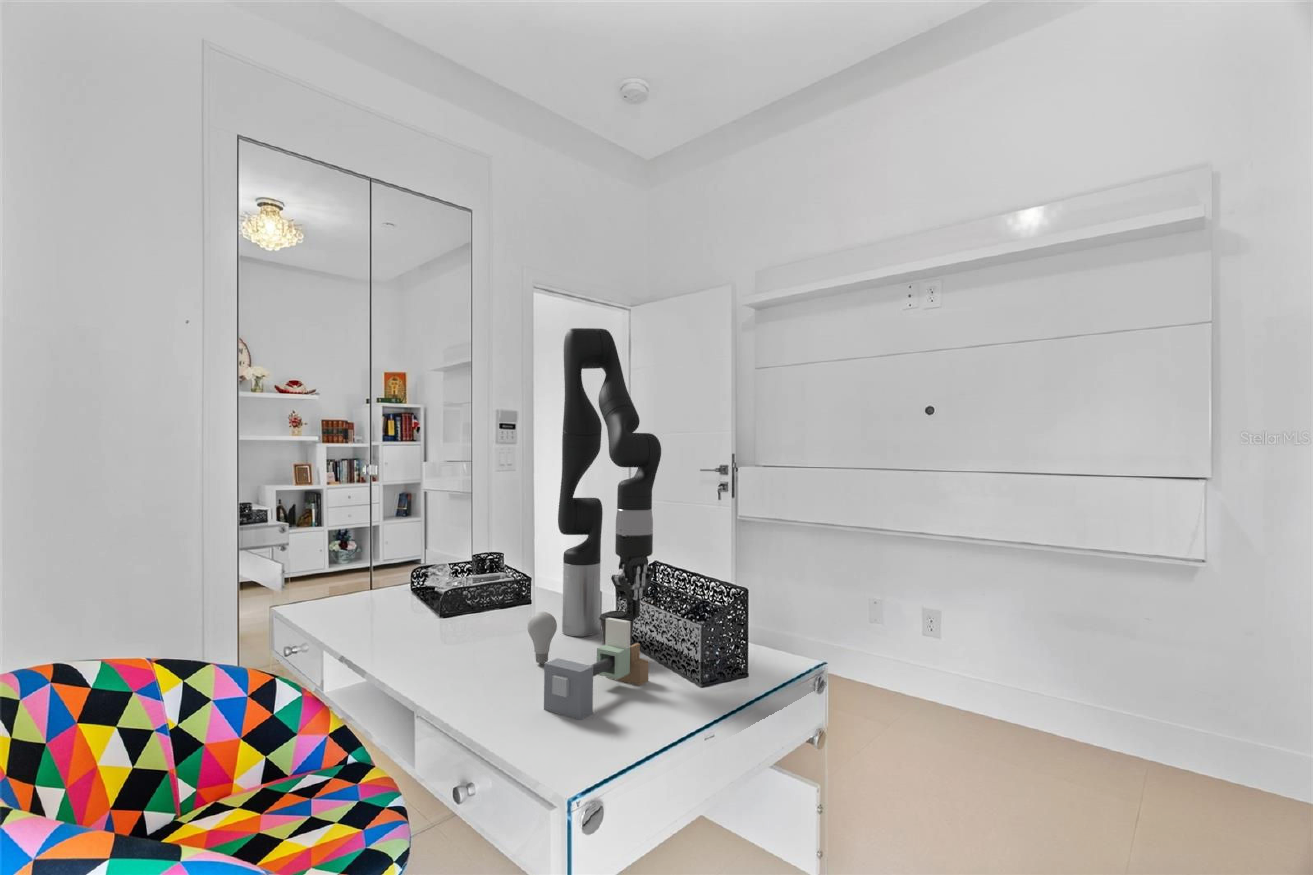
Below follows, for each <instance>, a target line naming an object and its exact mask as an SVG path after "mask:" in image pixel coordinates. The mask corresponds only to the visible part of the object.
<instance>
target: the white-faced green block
mask: <svg viewBox="0 0 1313 875" xmlns="http://www.w3.org/2000/svg"><path fill="white" fill-rule="evenodd" d="M630 622H631V621H626V620H620V619H614V618H607V619H606V635H605V645H601V646H599V647H597V648H596V663H597V662H599V661H601V660H603V659H606V658H608V657H610V656H615V666H614V667H612V668H610V669H608V670H606V671H604V672H602V673H600V674H598V675H597V676H603V677H605V678H606V677H610V678H609V679H611V678H614V679H613V680H615V679H620V678H622V677H624V676H626V675H627V674H629V673H630Z"/></svg>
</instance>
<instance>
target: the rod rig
mask: <svg viewBox="0 0 1313 875" xmlns="http://www.w3.org/2000/svg"><path fill="white" fill-rule="evenodd" d="M640 654H641V643H639V642H636V643H634V644H631V646H630V673H629V674H627V675H626V676H624V677H622V678H620V679H616V680H615V679H614V678H612V679H611V678H610V677H606V676H605V678H608V679H611V680H615V681H620V682H623V681H624V683H628V682H629V684H632V683H633V684H632V685H636V686H641V685H644V684H645V682H646V683H647V682H649V669H650V668H649V665H650V664H649V663H650V661H649V659H648V660H647V659H644V658H643V659H642V658H640V656H641V655H640ZM614 666H615V656H610V657H608V658H606V659H603V660H601V661H599V662H597V661H596V662H595V663H592V664H591V665H590V664H589V665H588V664H585V663H580V662H575V661H572V660H567V659H562V658H559V657H558V658H555V659H552V660H550V661H547V662H546V663H544V669H543V670H544V672H543V673H544V674H543V675H544V677H543V679H544V680H543V684H544V686H543V710H544V711H548V712H552V713H556V714H559V715H563V716H566V717H570V718H573V719H576V720H582V719H584V718H585V717H587V716H590V715H591V714H592V713H593V709H594V707H593V704H594V700H593V699H594V677H596V676H599V675H598V674H600V673H602V672H604V671H606V670H608V669H610V668H612V667H614ZM643 683H644V684H643Z"/></svg>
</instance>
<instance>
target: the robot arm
mask: <svg viewBox="0 0 1313 875" xmlns="http://www.w3.org/2000/svg"><path fill="white" fill-rule="evenodd" d="M585 369H586V370H588V369H589V370H591V369H592V370H593V369H602V370H603V371H604V374H605V377H604V380H603V383H602V385H601V388H600V390H599V393H598V398H597V399H598V400H597V401H598V407H599V411H600V413H601V415H602V418H603V421H604V423H605V426H606V430H607V437H608V438H607V439H608V455H609V458H610V460H611V462H613V464H614V465H615V466H617V467H619V468H636V472H635V474H634V476H633V477H630V478H626V479H624V480H621V481H620V482H618V485H617V496H616V497H617V500H616V501H617V504H616V505H617V506H616V507H617V508H616V517H615V518H616V519H615V546H614V547H615V548H614V549H615V550H614V551H615V555H617V556H619V562H618V563H619V564H618V571H617V572H616V574H612V575H611V576H610V578H611V579H610V580H611V581H612V584H613V586H614V587H615V590H616V592H617V594H618V595H619V598H623V599H625V600H626V611H625V612H626V613H627V617H628V618H631V619H635V620H636V619H638V618H639V617H640V614H641V599H642V598H643V595H646V594H647V592H648V590H649V588H650V584H651V582H652V579H653V577H654V575H655V574H654V573H655V572H656V570H655V569H656V568H655V567H651V566H649V559H648V557H651V556H652V555H653V550H654V549H653V547H654V546H653V545H654V544H653V542H654V541H653V540H654V539H653V537H654V519H653V507H652V506H653V488H654V484H655V480H656V475H657V471H658V468H659V465H660V462H661V458H662V445H661V442H660V440H659V439H658V437H657V436H656V435H655V434H653V433H650V432H648V433H647V432H636V431H637V429H638V428H639V426H640V423H641V422H640V417H639V414H638V411H637V410H636V407H635V405H634V402H633V401H632V398H631V396H630V394H629V391H628V388H627V386H626V385H627V384H626V382H625V378H624V374H623V369H622V365H621V361H620V357H619V353H618V349H617V346H616V343H615V340H614V338H613V335H612V334H611V332H610V331H609V330H607V329H605V328H595V327H594V328H590V327H589V328H585V327H583V328H582V327H581V328H579V327H578V328H577V327H576V328H573V327H572V328H569V329H568V330H567V331H566V334H565V336H564V340H563V375H564V378H563V379H564V405H563V406H564V407H563V421H562V440H561V447H562V448H561V450H562V451H561V480H560V481H561V482H560V493H559V502H558V513H557V526H558V529H559V532H560V533H561V535H566V536H587V537H586V539H585V540H583V542H581V543H579V544H578V545H575V546H572V547H570V548H568V549H566V550H565V551H563V557H562V559H563V562H562V565H563V566H562V568H563V570H562V616H561V620H562V622H561V623H562V624H561V625H562V630H561V632H562V633H563V634H564V635H567V636H571V637H587V636H588V637H589V636H593V635H596V634H598V633H600V630H602V626H601V620H600V619H599V617H600V615H601V614H603V611H602V610H603V609H602V608H603V607H602V606H603V592H602V591H601V566H602V565H601V561H602V560H601V554H602V553H601V552H602V551H601V550H602V549H601V547H602V528H603V516H604V515H603V514H604V513H603V504H602V501H601V500H600V498H598V497H574V495H575V491H576V489H577V488H578V487H577V486H578V485H579V483H580V481H581V479H582V477H583V476H584V474H585V473H586V472H587V471H588V469H590V467H591V465H592V464H593V463H594V461H595V460H596V459H597V457H598V455H599V453H600V451H601V448H602V446H601V445H602V432H603V430H602V429H603V428H602V426H603V425H602V421H601V418H600V415H599V413H598V412H597V410H596V409H595V407H594V405H593V404H592V402H591V401H590V399H589V397H588V394H587V392H586V390H585V388H584V383H583V379H582V378H583V376H582V372H583V371H582V370H585Z"/></svg>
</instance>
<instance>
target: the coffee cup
mask: <svg viewBox="0 0 1313 875" xmlns="http://www.w3.org/2000/svg"><path fill="white" fill-rule="evenodd" d="M607 618H614V619H620V620H626V621H631V622H630V646H631V645H632V638H633V637H632V636H633V629H634V622H635V620H636V619H631V618H628V617H627V613H626V611H624V610H610V611H608V612H607V611H606V612H602V614H601V615H600V617H599V619H600V620H601V633H602V634H601V635H602V644H603V645H605V635H606V619H607ZM603 645H602V646H603Z"/></svg>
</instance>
